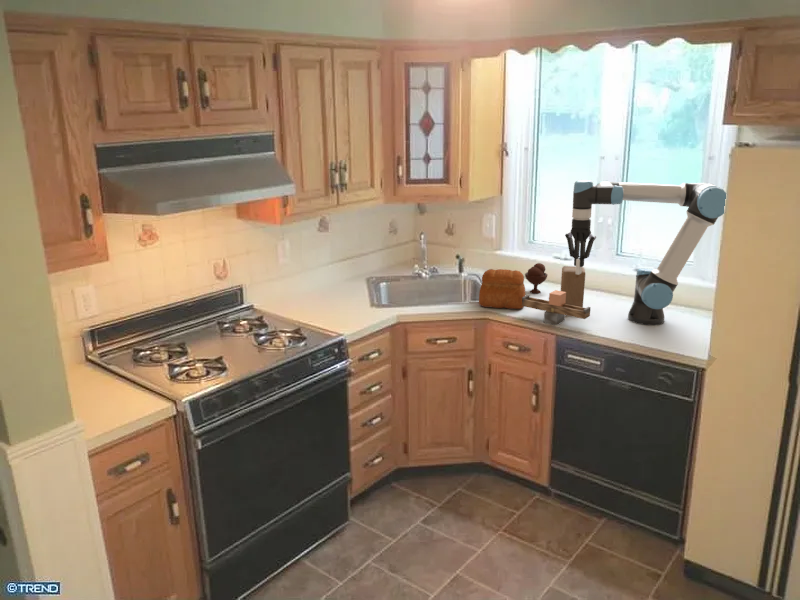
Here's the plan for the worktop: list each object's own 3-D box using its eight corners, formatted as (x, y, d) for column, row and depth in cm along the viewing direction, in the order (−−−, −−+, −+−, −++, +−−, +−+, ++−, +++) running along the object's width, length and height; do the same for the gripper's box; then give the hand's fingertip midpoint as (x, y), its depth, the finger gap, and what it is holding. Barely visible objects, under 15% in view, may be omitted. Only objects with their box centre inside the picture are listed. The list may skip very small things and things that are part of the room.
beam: (590, 326, 295) (591, 306, 292) (582, 331, 289) (584, 310, 286) (528, 312, 313) (529, 294, 310) (519, 317, 307) (520, 298, 304)
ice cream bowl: (532, 288, 352) (534, 259, 347) (550, 292, 344) (552, 263, 339) (519, 292, 345) (521, 263, 340) (537, 296, 337) (539, 267, 333)
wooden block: (582, 314, 310) (585, 272, 304) (559, 313, 312) (562, 271, 306) (581, 308, 319) (584, 266, 313) (559, 306, 321) (562, 265, 315)
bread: (523, 311, 315) (525, 276, 310) (477, 308, 319) (478, 274, 314) (525, 300, 331) (527, 267, 326) (481, 298, 336) (482, 264, 331)
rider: (565, 305, 299) (566, 292, 297) (559, 309, 294) (560, 295, 293) (554, 303, 302) (555, 290, 300) (548, 306, 297) (549, 293, 296)
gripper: (600, 218, 280) (596, 274, 287) (570, 215, 288) (567, 269, 295) (592, 221, 275) (589, 277, 282) (562, 218, 283) (560, 273, 290)
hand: (578, 273), depth 288 cm, fingers closed
